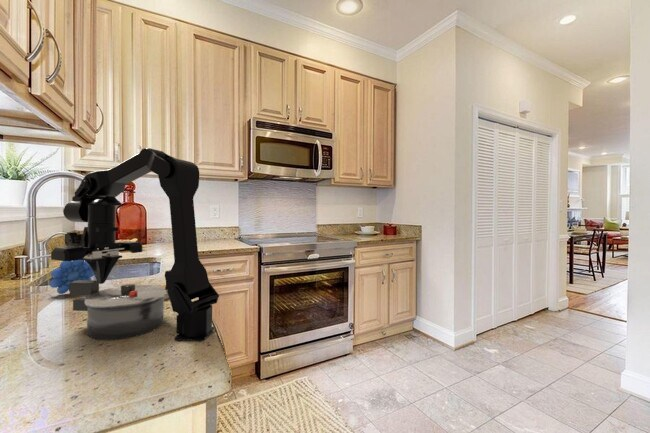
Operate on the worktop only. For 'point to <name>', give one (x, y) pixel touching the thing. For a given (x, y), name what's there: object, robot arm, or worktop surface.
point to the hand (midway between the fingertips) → (101, 283)
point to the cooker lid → (116, 294)
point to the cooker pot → (121, 319)
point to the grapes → (70, 274)
